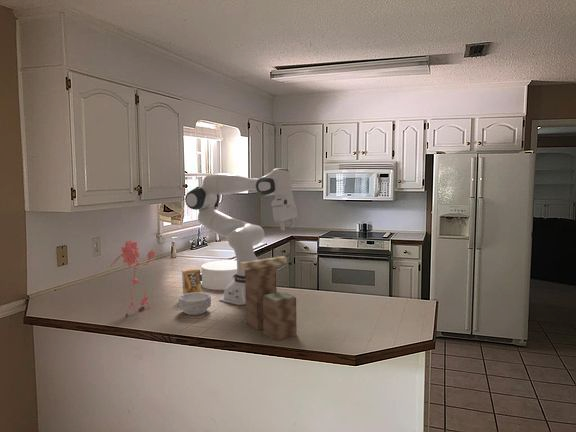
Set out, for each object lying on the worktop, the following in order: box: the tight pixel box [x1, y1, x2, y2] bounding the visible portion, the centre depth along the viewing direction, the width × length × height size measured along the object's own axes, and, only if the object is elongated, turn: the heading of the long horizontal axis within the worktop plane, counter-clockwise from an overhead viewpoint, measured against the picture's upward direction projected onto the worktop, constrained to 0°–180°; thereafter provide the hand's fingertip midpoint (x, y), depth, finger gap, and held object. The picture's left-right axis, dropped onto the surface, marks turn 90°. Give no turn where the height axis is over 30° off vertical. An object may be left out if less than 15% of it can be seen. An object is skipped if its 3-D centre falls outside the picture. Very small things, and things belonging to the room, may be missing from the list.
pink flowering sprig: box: [110, 239, 160, 315], centre depth 232 cm, size 15×26×35 cm, turn 156°
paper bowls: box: [178, 292, 212, 316], centre depth 229 cm, size 15×15×8 cm
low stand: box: [263, 291, 298, 341], centre depth 197 cm, size 10×10×17 cm
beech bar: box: [240, 255, 288, 270], centre depth 208 cm, size 22×3×3 cm, turn 124°
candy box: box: [181, 268, 202, 295], centre depth 252 cm, size 9×4×15 cm, turn 119°
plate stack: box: [200, 259, 237, 291], centre depth 282 cm, size 28×28×12 cm
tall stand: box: [245, 266, 277, 331], centre depth 209 cm, size 10×10×26 cm
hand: (287, 228), depth 233 cm, fingers open, 8 cm apart
